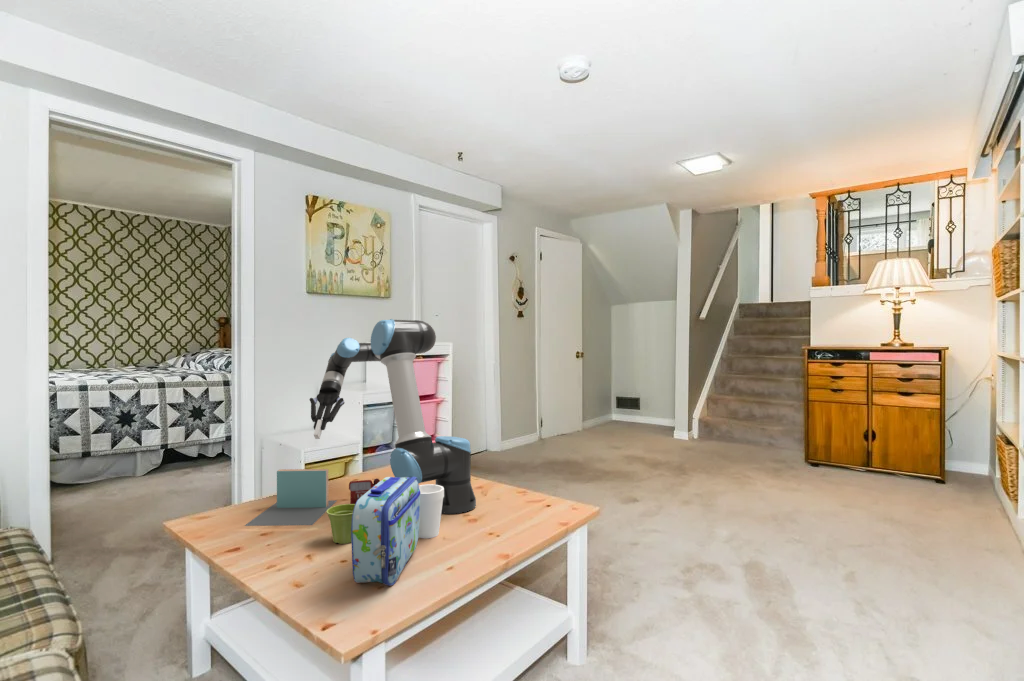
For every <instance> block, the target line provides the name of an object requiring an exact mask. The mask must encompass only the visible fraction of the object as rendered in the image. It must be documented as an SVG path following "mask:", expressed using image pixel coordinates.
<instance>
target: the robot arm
mask: <svg viewBox="0 0 1024 681" xmlns="http://www.w3.org/2000/svg"><path fill="white" fill-rule="evenodd" d="M436 339H437V336H436V332H435V330H434V328H433V326H432V325H430V324H429V323H427V322H425V321H423V320H411V319H409V320H408V319H393V318H391V319H382V320H379V321H378V322H376V324H374V326H373V329H372V331H371V335H370V342H359V341H358V340H356V339H355V338H352V337H345V338H343V339H342V340H341V341H340V342H339V344H338V345H337V347H336V349H335V350H334V352H333V353H331V355H330V357H329V359H328V361H327V366H326V369H325V373H324V376H323V379H322V381H321V384H320V388H319V392H318V394H317V395H316V397H314V398H312V397H310V398H309V401H310V419H311V421H312V423H313V429H314V431H313V436H314V439H315V440H320V439H321V435H322V431H325V430H326V427H327V424H328V423H329V422H330V423H332V422H333V421H334V420H335V418H336V416H337V414H338V412H339V411H340V409H341V408H342V407H343V405H344V404H345V400H344V398H343V397H340V394H341V392H342V387H343V384H344V381H345V380H344V379H345V376H346V373H347V370H349V367H350V365H351V364H352V363H361V362H380V363H381V364H382V365H384V366H385V367H386V371H387V372H386V373H387V378H388V383H389V388H390V395H391V400H392V406H393V407H392V408H393V413H394V418H395V424H396V429H397V437H398V438H397V440H396V441H395V443H394V447H395V448H394V449H393V450H392V451H391V453H390V458H389V464H390V470H391V471H392V475H393V476H394V477H400V478H402V477H409V478H411V477H417V479H418V485H419V484H422V483H423V484H424V483H426V482H430V481H435V483H434V485H440V486H443V487H444V497H443V504H442V512H441V514H446V515H448V514H449V515H450V514H451V515H452V514H453V515H455V514H456V513H457V514H462V512H464V513H467V511H468V512H470V511H469V510H471V511H473V510H474V509H475V508H476V507H477V498H476V496H475V492H474V489H473V486H472V480H471V475H472V474H471V472H472V471H471V467H472V466H471V458H472V456H471V455H472V450H471V442H470V440H468V439H467V438H464V437H459V436H447V435H445V436H444V435H441V436H436V437H435V440H434V442H433V440H432V435H430V434H428V432H427V431H426V428H425V422H424V417H423V412H422V405H421V401H420V395H419V390H418V384H417V378H416V373H415V368H414V360H415V359H416V357H417V355H420V354H424V353H427V352H430V350H432V349H433V348H434V346H435V344H436V342H437V341H436ZM317 402H318V404H319V405H318V409H317V406H316V405H317ZM475 506H476V507H475ZM473 508H474V509H473ZM472 509H473V510H472Z"/></svg>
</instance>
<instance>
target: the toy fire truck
mask: <svg viewBox="0 0 1024 681" xmlns="http://www.w3.org/2000/svg"><path fill="white" fill-rule="evenodd" d="M380 481H381V480H380V479H379V478H374V480H371V479H364V480H363V479H362V480H351V481H350V482H349V483H348V490H349V493H350V495H349V496H350V499H349V502H350V503H349V504H356V502H357V500H358V499H359V498H360V497H361V496H363V495H364V494H365V493H366V492H368V491H369V490H370V489H371V488H372V487H373V486H375V485H376V484H377V483H378V482H380Z"/></svg>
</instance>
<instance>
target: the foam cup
mask: <svg viewBox="0 0 1024 681" xmlns="http://www.w3.org/2000/svg"><path fill="white" fill-rule="evenodd" d="M418 485H419V484H418ZM419 489H420V517H419V536H418V539H432V538H435V537H437V536H439V533H440V525H441V519H442V513H441V512H442V504H443V497H444V487H443V486H440V485H435V483H434V484H433V483H432V484H431V483H430V484H420V485H419Z"/></svg>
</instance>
